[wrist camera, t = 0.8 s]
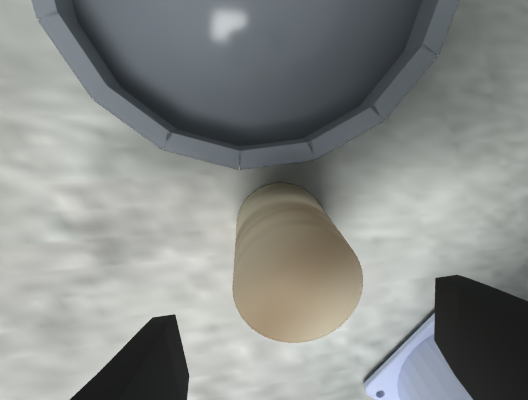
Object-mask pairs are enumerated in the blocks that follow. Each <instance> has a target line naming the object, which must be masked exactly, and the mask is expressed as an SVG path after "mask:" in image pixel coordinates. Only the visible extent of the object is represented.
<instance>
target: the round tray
mask: <svg viewBox="0 0 528 400" xmlns="http://www.w3.org/2000/svg"><path fill="white" fill-rule="evenodd" d="M32 3H33V7H34V10H35V14H36V17H37V18H38V19H40V20H38V21H39V23H40V24H41V26H42V27H43V29H44V30H45V32H46V33H47V34H48V36H49V37H50V39H51V40H52V42H53V43H54V45H55V46H56V47H57V49H58V50H59V52H60V53H61V55H62V56H63V58H64V59H65V61H66V62H67V63H68V65H69V66H70V68H71V69H72V71H73V72H74V74H75V75H76V76H77V78H78V79H79V81H80V82H81V84H82V85H83V87H84V88H85V89H86V91H87V92H88V94H89V95H90V97H91V98H92V99H94V101H95V102H97V103H98V104H99V105H101V106H102V107H103V108H105V109H106V110H108V111H109V112H110V113H112V114H113V115H115V116H116V117H117V118H119V119H120V120H122V121H123V122H124V123H126V124H127V125H129V126H130V127H131V128H133V129H134V130H136V131H137V132H138V133H140V134H141V135H142V136H144V137H145V138H147V139H148V140H149V141H151V142H152V143H154V144H155V145H156V146H158V147H159V148H161V149H164V151H168V152H172V153H176V154H180V155H184V156H187V157H191V158H195V159H199V160H203V161H207V162H210V163H214V164H218V165H222V166H226V167H230V168H234V169H237V170H238V169H239V165H240V170H243V169H250V168H258V167H265V166H273V165H281V164H288V163H296V162H303V161H311V160H314V159H317V158H319V157H321V156H323V155H324V154H326V153H328V152H330V151H332V150H333V149H335V148H337V147H339V146H340V145H342V144H344V143H346V142H347V141H349V140H351V139H353V138H355V137H356V136H358V135H360V134H362V133H363V132H365V131H367V130H369V129H371V128H372V127H374V126H376V125H378V124H379V123H381V122H382V120H385V119H386V117H387V116H388V115H389V114H390V113H391V111H392V110H393V109H394V108H395V107H396V106H397V104H398V103H399V102H400V101H401V100H402V98H403V97H404V96H405V95H406V94H407V92H408V91H409V90H410V89H411V88H412V86H413V85H414V84H415V83H416V82H417V80H418V79H419V78H420V77H421V76H422V75H423V73H424V72H425V71H426V70H427V69H428V67H429V66H430V65H431V64H432V63H433V61H434V60H435V59H436V58H437V57H438V56H437V55H438V54H439V53H440V50H441V47H442V45H443V42H444V40H445V37H446V34H447V32H448V29H449V26H450V24H451V21H452V19H453V16H454V13H455V11H456V8H457V6H458V3H459V0H32Z"/></svg>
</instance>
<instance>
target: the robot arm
mask: <svg viewBox="0 0 528 400" xmlns="http://www.w3.org/2000/svg"><path fill="white" fill-rule="evenodd" d="M188 382H189V373H188V368H187V364H186V359H185V355H184V351H183V346H182V342H181V338H180V333H179V329H178V325H177V320H176V316H175V315H168V316H161V317H153V318H152V319H151V320H150V321H149V322H148V323H147V324H146V325H145V326H144V327H143V328H142V329H141V330H140V331H139V332H138V333H137V334H136V335H135V336H134V337H133V338H132V339H131V340H130V341H129V342H128V343H127V344H126V345H125V346H124V347H123V348H122V349H121V350H120V351H119V352H118V353H117V354H116V355H115V356H114V357H113V358H112V359H111V361H110V362H109V363H108V364H107V365H106V366H105V367H104V368H103V369H102V370H101V371H100V372H99V373H98V374H97V375H96V376H94V377H93V378H92V379H91V380H90V381H89V382H88V383H87V384H86V385H85V386H84V387H83V388H82V389H81V390H80V391H79V392H77V393H76V394H75V395H74V396H73V397H72V398H71V399H70V400H187V393H188ZM364 389H365V392H366V394H367V395H369V396H370V397H372V398H373V399H375V400H528V301H525V300H523V299H520V298H518V297H515V296H513V295H510V294H508V293H505V292H503V291H500V290H498V289H495V288H493V287H490V286H488V285H485V284H482V283H480V282H477V281H474V280H472V279H469V278H466V277H463V276H459V275H453V276H446V277H439V278H436V281H435V313H434V314H433V315H432V316H431V317H430V318H429V319H428V320H427V321H426V322H425V323H424V324H423V325H422V326H421V327H420V328H419V329H418V330H417V331H416V332H415V333H414V334H413V335H412V336H411V337H410V338H409V339H408V340H407V341H406V342H405V343H404V344H403V345H402V346H401V347H400V348H399V349H398V350H397V351H396V352H395V353H394V354H393V355H392V356H391V357H390V358H389V359H388V360H387V361H386V362H385V363H384V364H383V365H382V366H381V367H380V368H379V369H378V370H377V371H376V372H375V373H374V374H373V375H372V376H371V377H370V378H369V379H368V380H367V381H366V382H365V383H364ZM380 390H381V391H380ZM378 391H380V392H378Z"/></svg>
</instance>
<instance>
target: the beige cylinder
mask: <svg viewBox="0 0 528 400" xmlns="http://www.w3.org/2000/svg"><path fill="white" fill-rule="evenodd" d="M362 287H363V275H362V269H361V265H360V262H359V260H358V258H357V256H356V254H355V253H354V251H353V250H352V248H351V247H350V246H349V244H348V243H347V241H346V240H345V239H344V237H343V236H342V235H341V233H340V232H339V231H338V229H337V228H336V226H335V225H334V224H333V222H332V221H331V220H330V218H329V217H328V215H327V214H326V213H325V211H324V210H323V209H322V207H321V206H320V205H319V203H318V202H317V200H316V199H315V198H314V197H313V196H312V195H311V194H310V193H309V192H308V191H306V190H305V189H303V188H301V187H299V186H297V185H294V184H289V183H274V184H269V185H266V186H264V187H261V188H259V189H258V190H256V191H255V192H253V193H252V194H251V195H250V196H249V197H248V198H247V199H246V200H245V202H244V203H243V205H242V207H241V209H240V211H239V214H238V218H237V228H236V243H235V258H234V273H233V297H234V301H235V305H236V307H237V310H238V312H239V313H240V315H241V317H242V318H243V319H244V321H245V322H246V323H247V324H248V325H249V326H250V327H251V328H252V329H254V330H255V331H256V332H258V333H259V334H261V335H263V336H265V337H267V338H270V339H273V340H277V341H281V342H288V343H299V342H307V341H312V340H315V339H318V338H321V337H323V336H326V335H328V334H329V333H331V332H333V331H335V330H336V329H337V328H339V327H340V326H341V325H342V324H343V323H344V322H345V321H346V320H347V319H348V318H349V317H350V316H351V314H352V313H353V311H354V310H355V308H356V306H357V304H358V302H359V300H360V296H361V293H362Z"/></svg>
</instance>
